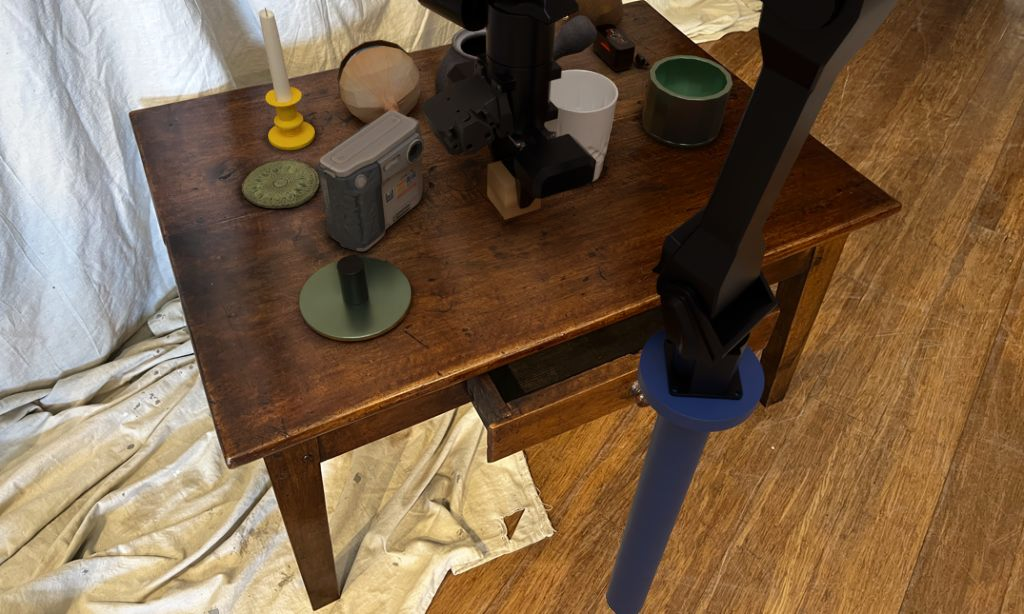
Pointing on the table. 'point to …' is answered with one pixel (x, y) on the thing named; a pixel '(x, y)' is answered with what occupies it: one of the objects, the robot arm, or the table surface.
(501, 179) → the block
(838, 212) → the table surface
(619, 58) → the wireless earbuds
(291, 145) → the candle
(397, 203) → the camera
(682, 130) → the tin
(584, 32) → the teapot
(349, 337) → the lid
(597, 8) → the potato
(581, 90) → the white cup
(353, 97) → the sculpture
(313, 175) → the medallion
